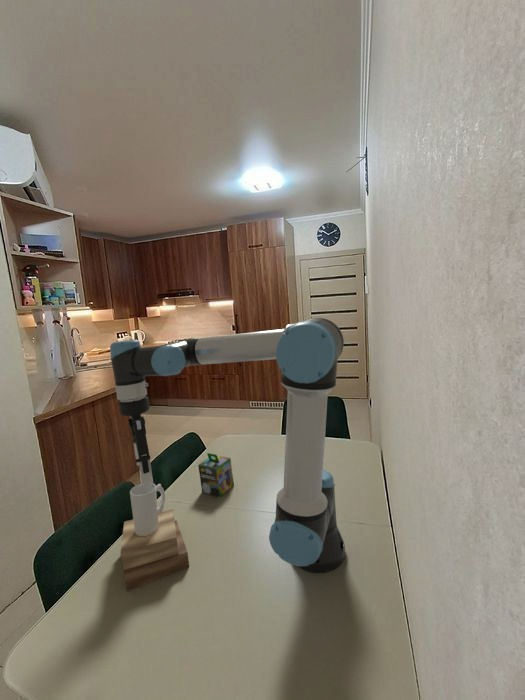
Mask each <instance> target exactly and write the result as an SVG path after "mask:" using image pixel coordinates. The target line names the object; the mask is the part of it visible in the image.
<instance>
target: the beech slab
mask: <svg viewBox="0 0 525 700" xmlns="http://www.w3.org/2000/svg"><path fill="white" fill-rule="evenodd" d="M174 512H175V511H174V508H172V509H169V510H168V509H167V510H163V511H162V512H160V513H159V514H158V529H157V530H156V531H155V532H154V533H153V534H151V535H148V536H138V535H136V533H135V528H134V521H133V519H130V520H126V521H125V520H124V522H123V528H122V537H121V545H120V552H119V553H120V558H121V559H120V560H121V563H122V570H123V571H124V570H126V569H129V568H133V567H136V566H139V565H143V564H146V563H150V562H153V561H156V560H160V559H163V558H166V557H170V556H173V555H177V554H179V552H178V544H177V535H176V527H175V521H176V520H175V514H174Z"/></svg>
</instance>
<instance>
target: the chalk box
mask: <svg viewBox="0 0 525 700" xmlns="http://www.w3.org/2000/svg"><path fill="white" fill-rule="evenodd" d="M206 455H207V457H208V458H205V459H204V460H203V461H201V462H200V463H198V472H199V480H200V487H201V492H202V493H205V494H208V495H211V496H215V497H217V498H221V496H223V495H224V494H226V493H227V492H228V491H229V490H230V489H231V488H233V487H234V486H235V483H234V476H233V474H234V473H233V467H232V461H231V457H227V456H222V455H217V454H215V453H210V452H207V454H206Z"/></svg>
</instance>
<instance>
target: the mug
mask: <svg viewBox="0 0 525 700" xmlns="http://www.w3.org/2000/svg"><path fill="white" fill-rule="evenodd" d="M157 492H159V493H160V495H161V497H160V499H161V500H160V503H159V505H158V500H157ZM129 495H130V505H131V511H132V520H133V521H134V528H135V533H136V535H138V536H148V535H151V534H153V533H154V532H155V531H156V530H157V529H158V514H159V513H160V512H164V505H165V501H166V493H165V490H164V488H163V486H162V484H161V483H158V484H157V485H156V484H155V483H154V482H153V483H150V484H146V485H143V486H142V483H139V484H136V485H134V486H133V487H132V488H131V489H130V491H129Z"/></svg>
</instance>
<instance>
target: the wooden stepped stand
mask: <svg viewBox="0 0 525 700" xmlns="http://www.w3.org/2000/svg"><path fill="white" fill-rule="evenodd" d="M175 527H176V535H177V544H178V552H179V554H177V555H173V556H170V557H166V558H163V559H160V560H156V561H153V562H150V563H146V564H143V565H139V566H136V567H133V568H129V569H126V570H123V575H124V582H125V588H126V592H128V591H130V590H133V589H136V588H139V587H141V586H144V585H147V584H149V583H151V582H154V581H156V580H158V579H162V578H164V577H166V576H170V575H172V574H174V573H177V572H180V571H182V570H184V569H187V568H190V562H189V553H188V549H187V547H186V544H185V540H184V538H183V535H182V533H181V530H180V526H179V524H178V521H177V520H175Z"/></svg>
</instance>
